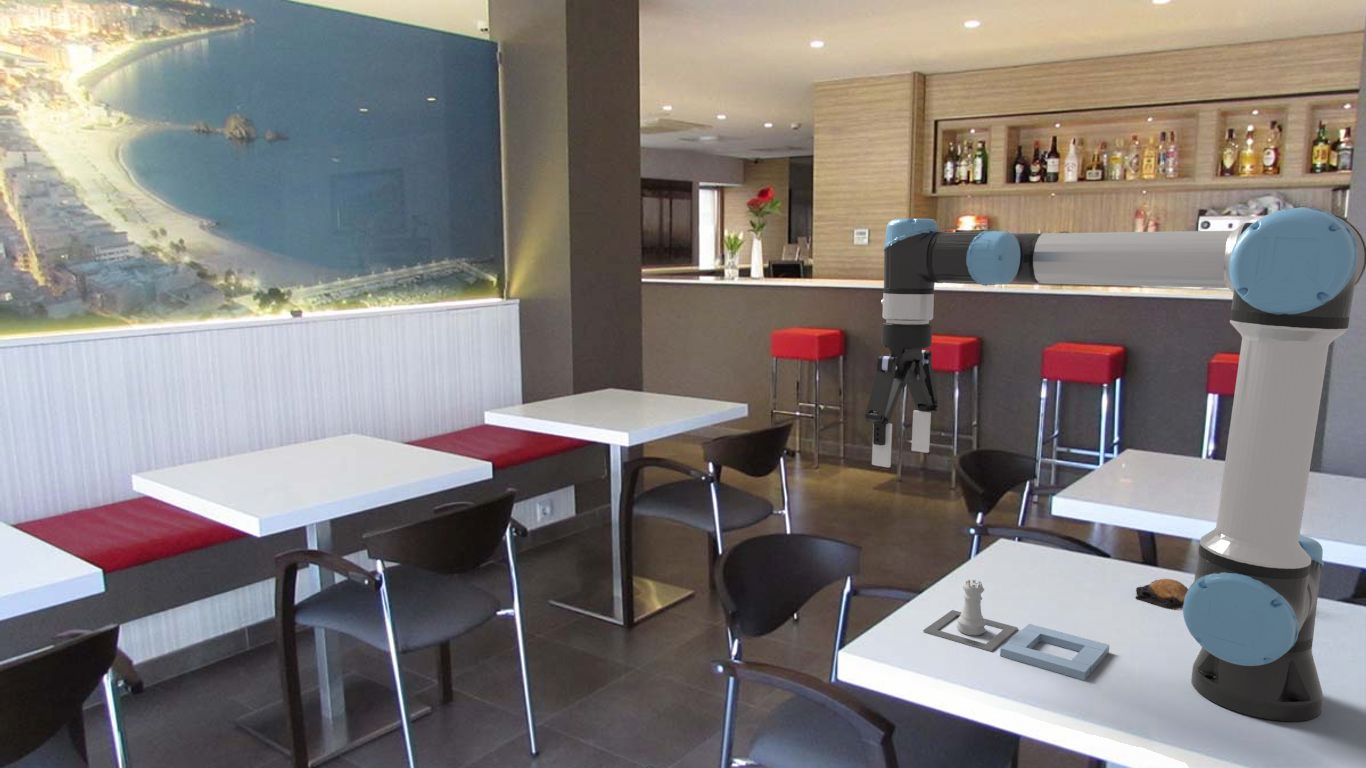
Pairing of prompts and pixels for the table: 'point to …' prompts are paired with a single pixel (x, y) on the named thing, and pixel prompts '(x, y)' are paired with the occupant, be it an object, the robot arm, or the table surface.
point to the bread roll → (1163, 593)
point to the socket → (1077, 667)
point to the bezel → (988, 646)
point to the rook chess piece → (972, 610)
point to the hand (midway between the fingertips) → (901, 458)
